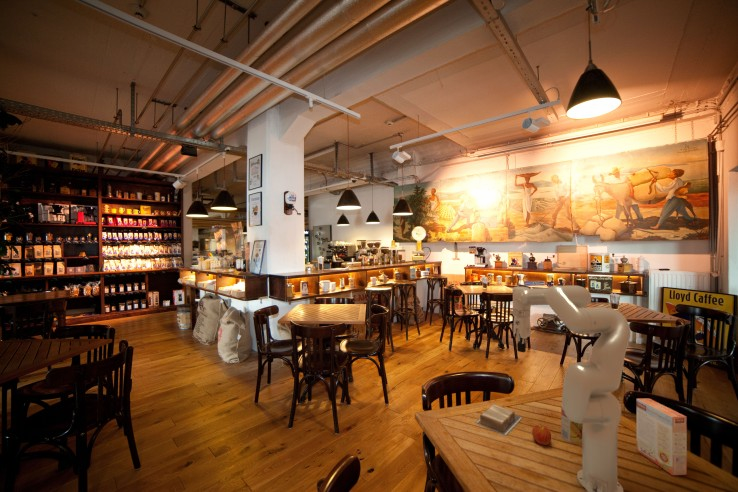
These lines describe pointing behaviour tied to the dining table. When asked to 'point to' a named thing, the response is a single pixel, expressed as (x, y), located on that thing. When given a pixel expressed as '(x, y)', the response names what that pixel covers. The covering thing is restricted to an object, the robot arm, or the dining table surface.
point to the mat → (509, 428)
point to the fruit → (541, 434)
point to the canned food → (571, 429)
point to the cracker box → (662, 436)
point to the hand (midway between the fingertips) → (521, 351)
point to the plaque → (497, 417)
